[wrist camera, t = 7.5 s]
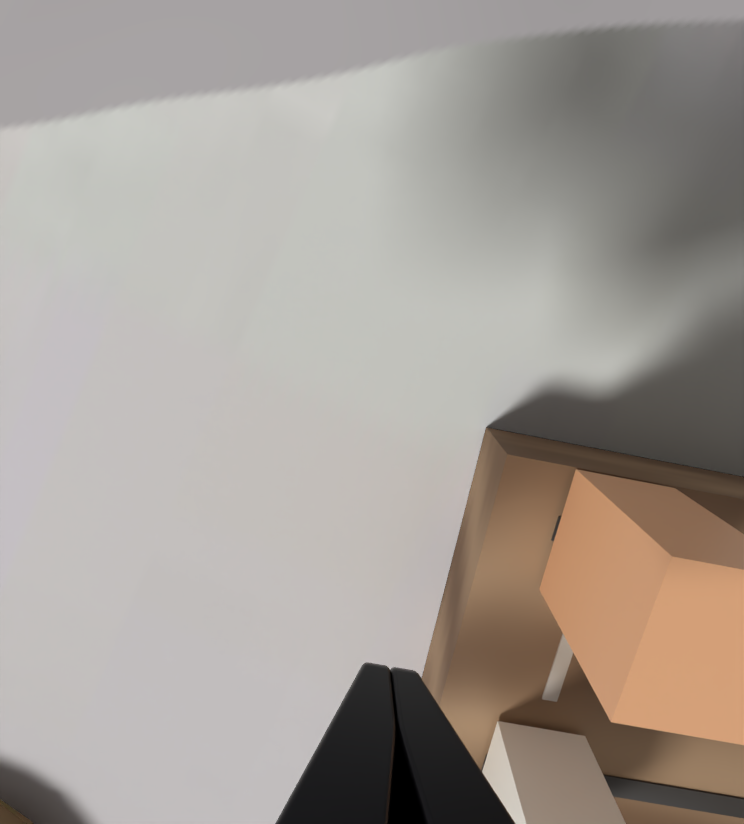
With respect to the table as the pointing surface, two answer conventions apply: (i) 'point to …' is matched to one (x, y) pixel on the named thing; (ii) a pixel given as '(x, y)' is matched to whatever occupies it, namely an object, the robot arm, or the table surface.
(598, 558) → the terracotta fader
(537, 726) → the board
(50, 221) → the table surface
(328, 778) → the robot arm
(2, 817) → the alarm clock
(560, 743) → the block
